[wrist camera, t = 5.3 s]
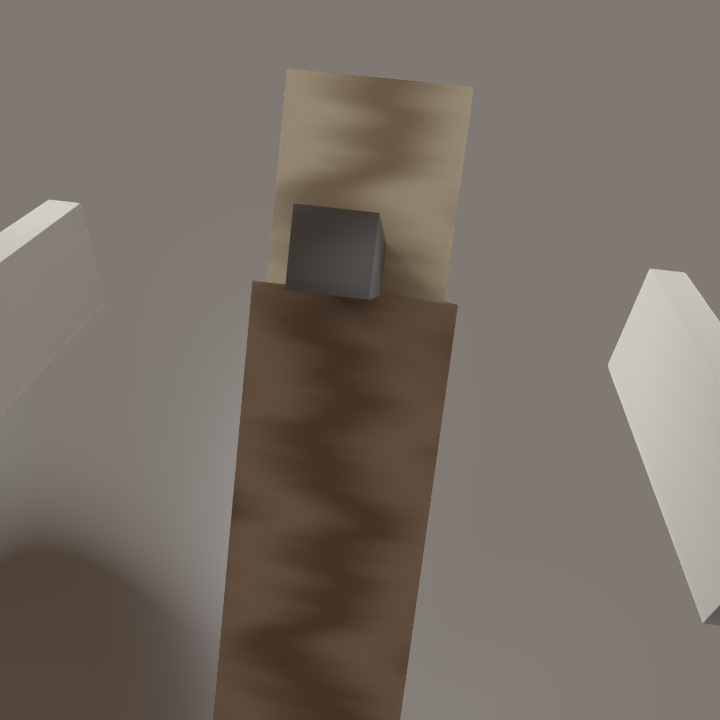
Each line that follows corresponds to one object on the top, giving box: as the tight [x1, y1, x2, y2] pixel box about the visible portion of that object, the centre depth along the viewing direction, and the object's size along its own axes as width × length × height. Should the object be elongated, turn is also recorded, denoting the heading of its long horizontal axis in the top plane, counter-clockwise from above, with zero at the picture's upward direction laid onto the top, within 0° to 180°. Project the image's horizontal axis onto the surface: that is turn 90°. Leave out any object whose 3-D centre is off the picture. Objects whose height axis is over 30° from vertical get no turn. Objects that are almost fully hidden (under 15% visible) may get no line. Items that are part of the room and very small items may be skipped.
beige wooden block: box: [267, 69, 473, 303], centre depth 20 cm, size 7×14×8 cm, turn 176°
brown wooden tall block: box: [213, 281, 458, 720], centre depth 26 cm, size 8×6×29 cm
